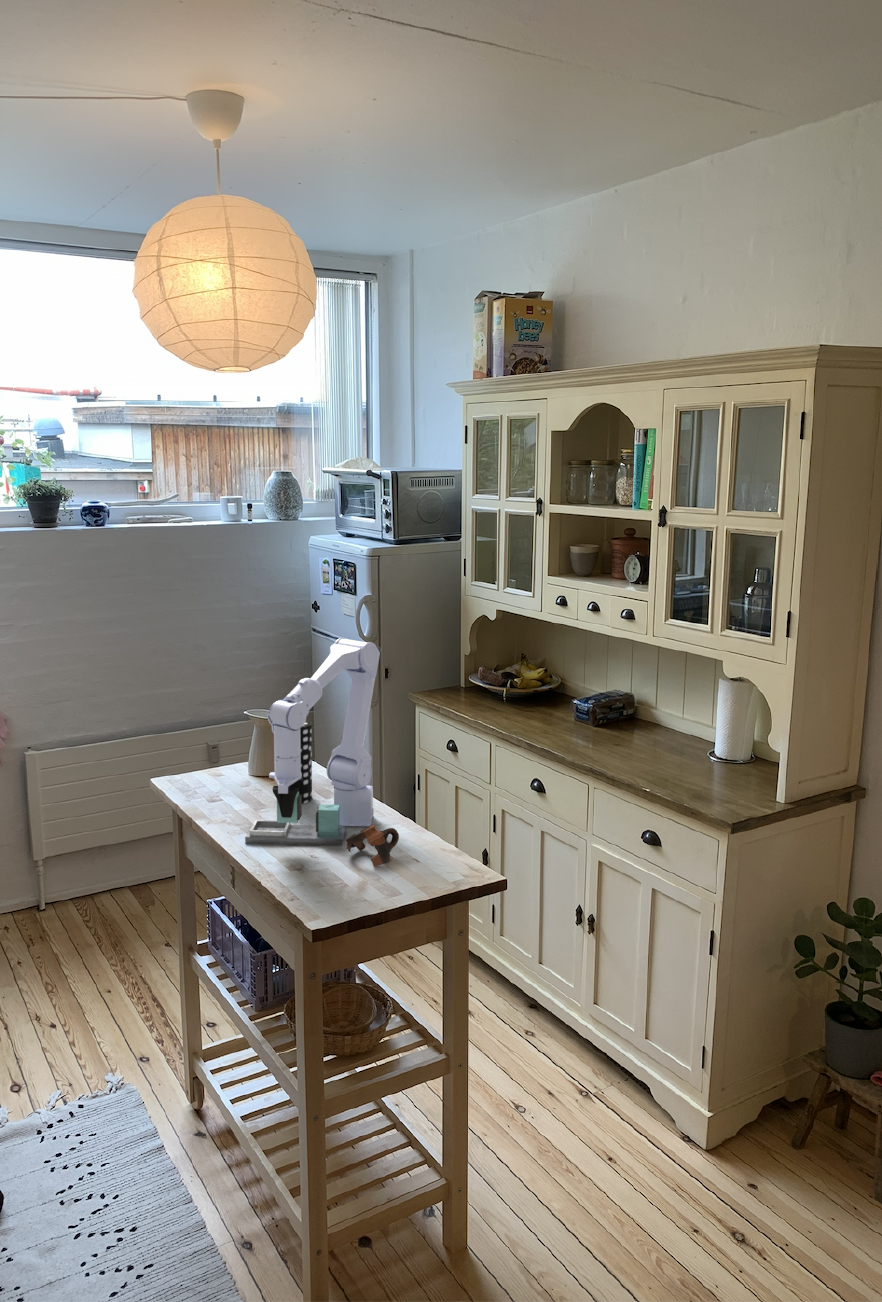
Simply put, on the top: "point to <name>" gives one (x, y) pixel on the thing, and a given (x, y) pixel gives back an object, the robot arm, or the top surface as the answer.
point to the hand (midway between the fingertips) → (288, 813)
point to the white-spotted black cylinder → (306, 762)
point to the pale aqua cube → (296, 811)
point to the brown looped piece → (374, 842)
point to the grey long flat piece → (301, 830)
